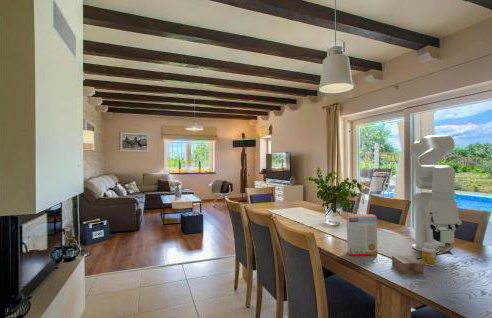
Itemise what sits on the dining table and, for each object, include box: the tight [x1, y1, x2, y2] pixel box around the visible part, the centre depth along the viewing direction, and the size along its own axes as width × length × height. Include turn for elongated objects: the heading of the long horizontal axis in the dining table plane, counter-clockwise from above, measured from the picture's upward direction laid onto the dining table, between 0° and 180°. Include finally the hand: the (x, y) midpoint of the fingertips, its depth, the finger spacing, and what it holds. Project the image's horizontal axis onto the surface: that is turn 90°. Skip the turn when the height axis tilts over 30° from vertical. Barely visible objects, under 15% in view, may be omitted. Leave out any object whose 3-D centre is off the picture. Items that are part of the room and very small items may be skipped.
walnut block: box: [391, 255, 425, 275], centre depth 121 cm, size 9×9×5 cm
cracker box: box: [346, 213, 378, 257], centre depth 141 cm, size 14×6×21 cm, turn 84°
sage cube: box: [438, 227, 455, 244], centre depth 109 cm, size 5×5×5 cm
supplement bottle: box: [421, 243, 437, 267], centre depth 127 cm, size 5×5×10 cm
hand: (443, 239), depth 109 cm, fingers closed on sage cube, 5 cm apart
